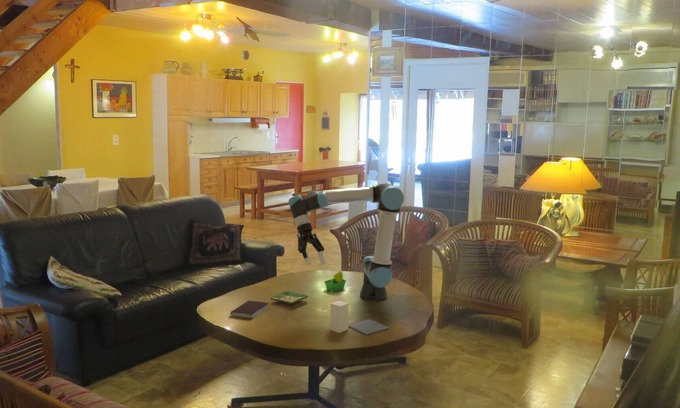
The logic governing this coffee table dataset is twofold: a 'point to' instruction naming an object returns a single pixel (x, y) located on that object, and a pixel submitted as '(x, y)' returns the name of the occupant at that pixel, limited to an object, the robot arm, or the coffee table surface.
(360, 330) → the slate mat
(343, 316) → the cream block
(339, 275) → the fruit basket
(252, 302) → the book
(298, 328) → the coffee table surface
